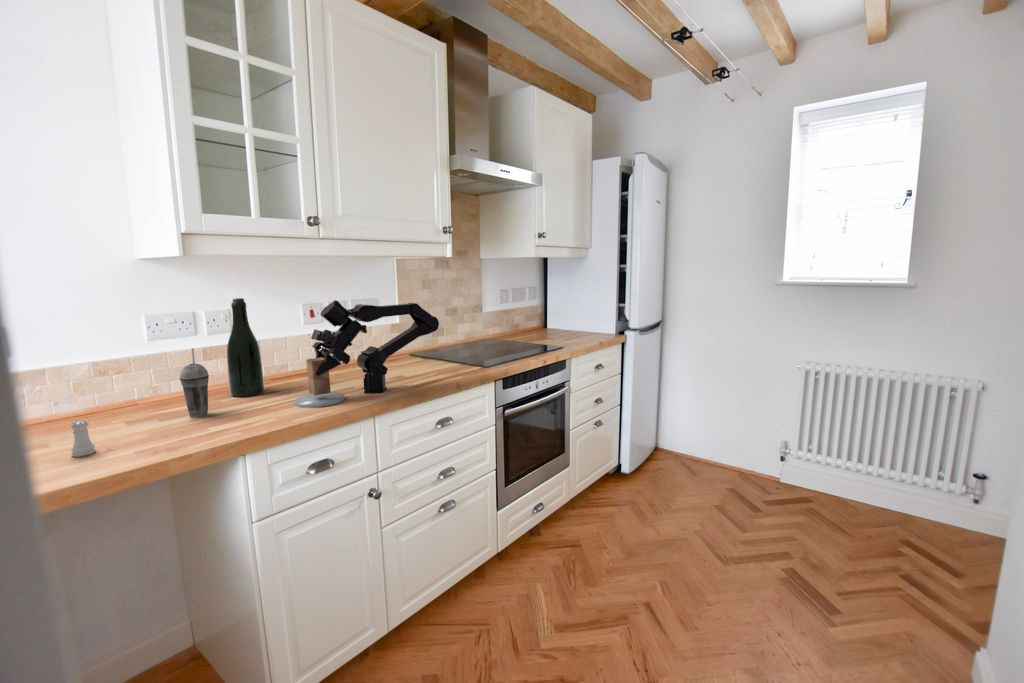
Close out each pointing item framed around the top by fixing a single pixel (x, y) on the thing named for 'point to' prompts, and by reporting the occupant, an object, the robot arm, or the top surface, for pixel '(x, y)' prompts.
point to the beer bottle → (243, 355)
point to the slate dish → (319, 399)
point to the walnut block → (317, 377)
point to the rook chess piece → (81, 440)
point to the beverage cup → (195, 388)
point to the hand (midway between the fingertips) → (313, 373)
